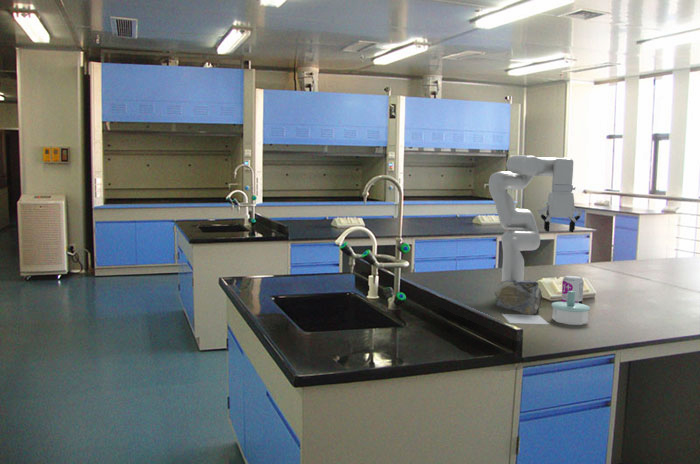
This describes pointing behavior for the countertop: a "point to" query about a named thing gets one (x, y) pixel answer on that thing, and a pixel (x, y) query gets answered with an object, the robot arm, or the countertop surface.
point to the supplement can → (572, 287)
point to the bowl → (570, 317)
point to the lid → (570, 304)
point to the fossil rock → (519, 296)
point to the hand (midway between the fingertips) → (559, 231)
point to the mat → (524, 319)
